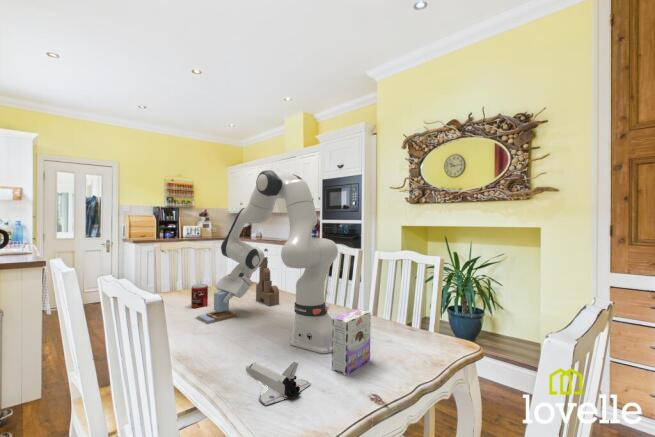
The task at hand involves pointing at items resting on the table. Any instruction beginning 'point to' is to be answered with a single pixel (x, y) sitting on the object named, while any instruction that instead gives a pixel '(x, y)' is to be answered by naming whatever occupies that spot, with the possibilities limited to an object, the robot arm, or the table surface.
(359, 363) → the candy box
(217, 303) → the block
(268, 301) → the wooden toy
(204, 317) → the plate
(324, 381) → the table surface
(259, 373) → the space shuttle model
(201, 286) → the canned food
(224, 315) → the tray
